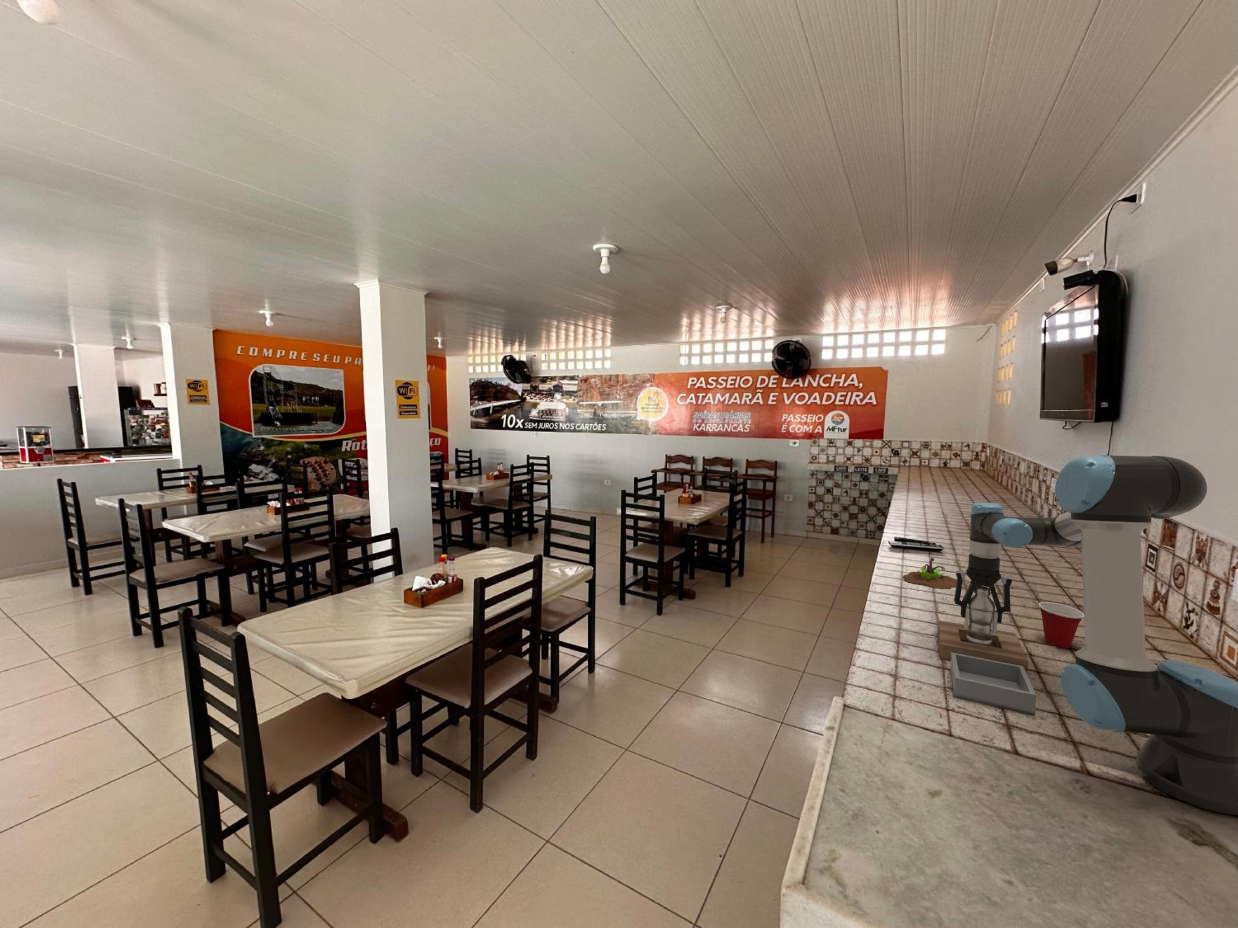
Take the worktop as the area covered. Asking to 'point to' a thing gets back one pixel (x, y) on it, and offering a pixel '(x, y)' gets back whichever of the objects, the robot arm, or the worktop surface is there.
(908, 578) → the plant
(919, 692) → the worktop surface
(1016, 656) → the walnut frame
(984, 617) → the plastic bottle
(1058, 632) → the plastic cup
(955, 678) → the slate tray
